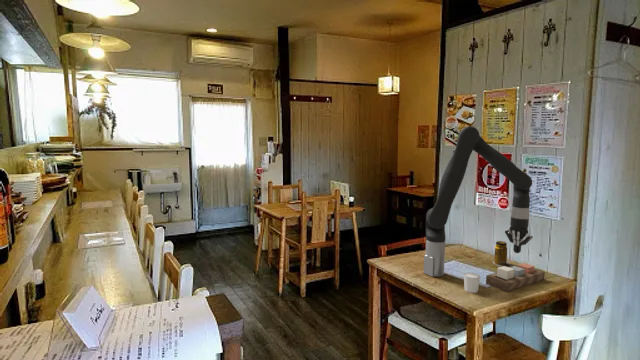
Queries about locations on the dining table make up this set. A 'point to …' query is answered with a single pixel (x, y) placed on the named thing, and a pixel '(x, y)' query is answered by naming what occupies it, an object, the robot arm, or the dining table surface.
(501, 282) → the brown wooden tray
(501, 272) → the cream block
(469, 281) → the white cup
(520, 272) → the slate key
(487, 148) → the robot arm
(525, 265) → the terracotta key
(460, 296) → the dining table surface
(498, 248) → the condiment
